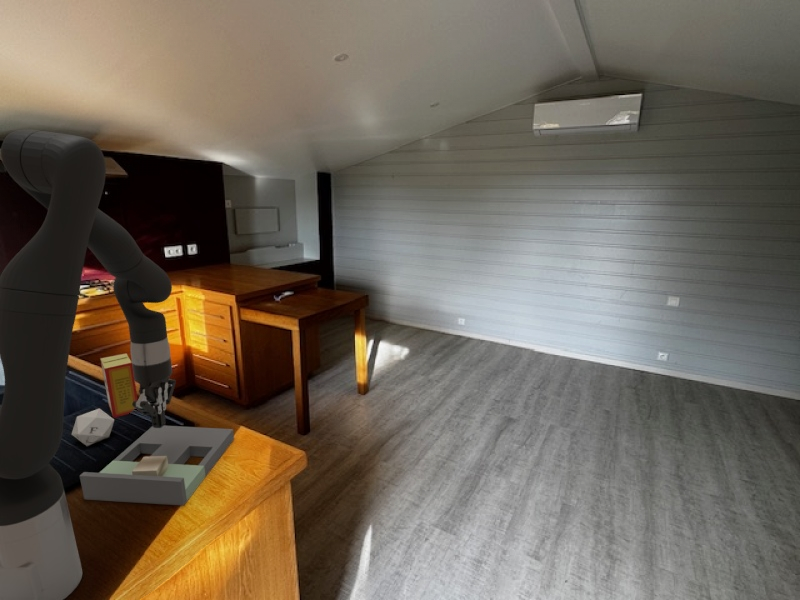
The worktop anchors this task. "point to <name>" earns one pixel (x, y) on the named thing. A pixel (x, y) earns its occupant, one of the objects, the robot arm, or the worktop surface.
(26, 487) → the robot arm
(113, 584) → the worktop surface
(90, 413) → the die
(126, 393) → the baking soda box
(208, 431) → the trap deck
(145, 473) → the birch block
